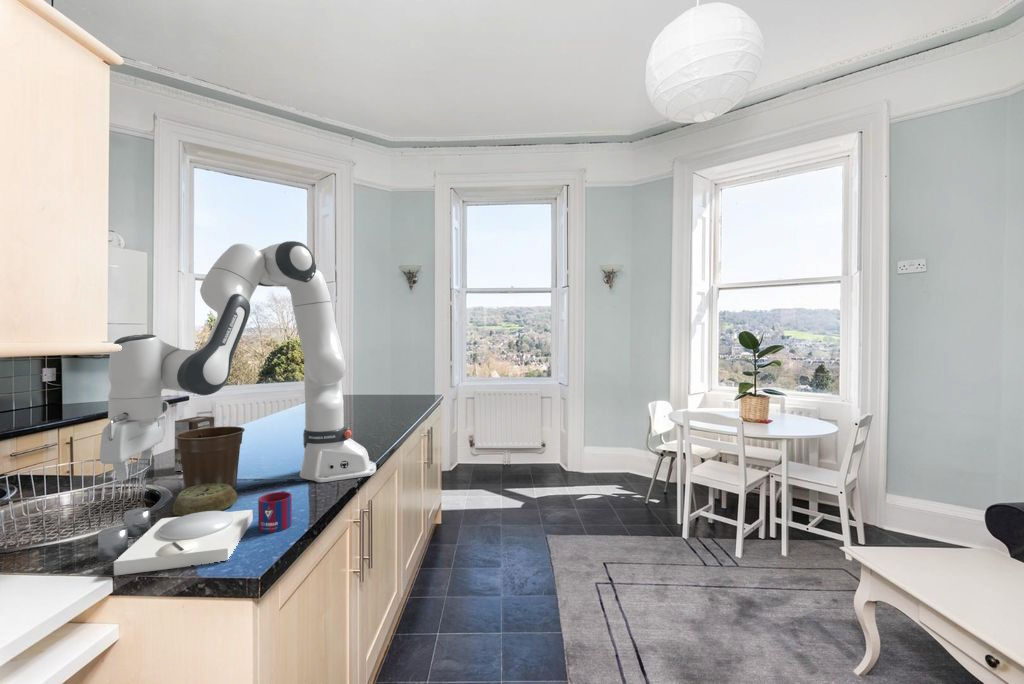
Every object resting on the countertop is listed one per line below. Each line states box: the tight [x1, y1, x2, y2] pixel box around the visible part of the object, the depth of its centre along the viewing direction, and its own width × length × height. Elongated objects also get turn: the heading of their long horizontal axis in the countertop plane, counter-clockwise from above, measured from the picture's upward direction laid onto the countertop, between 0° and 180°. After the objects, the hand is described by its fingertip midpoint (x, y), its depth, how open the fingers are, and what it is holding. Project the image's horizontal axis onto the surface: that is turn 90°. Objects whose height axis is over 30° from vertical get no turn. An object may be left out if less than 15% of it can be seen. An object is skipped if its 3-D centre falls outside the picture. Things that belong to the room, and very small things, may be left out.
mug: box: [257, 490, 293, 534], centre depth 105 cm, size 7×10×7 cm
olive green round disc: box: [172, 483, 238, 517], centre depth 114 cm, size 14×13×5 cm
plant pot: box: [174, 426, 245, 490], centre depth 128 cm, size 16×16×16 cm
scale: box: [113, 509, 254, 576], centre depth 94 cm, size 18×20×3 cm
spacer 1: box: [97, 525, 129, 562], centre depth 90 cm, size 4×4×5 cm
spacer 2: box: [123, 506, 152, 537], centre depth 99 cm, size 4×4×5 cm
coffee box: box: [174, 415, 215, 472], centre depth 146 cm, size 9×6×16 cm
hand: (134, 473), depth 99 cm, fingers open, 8 cm apart
